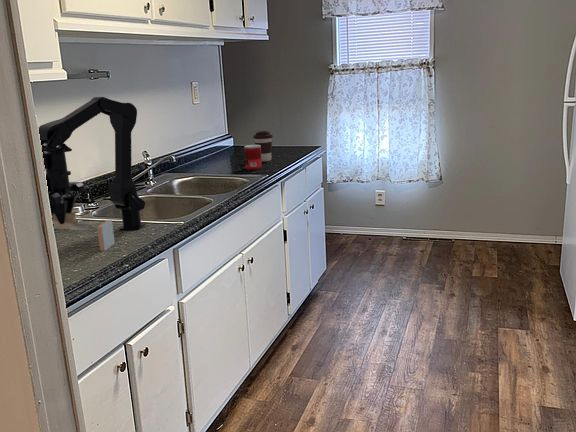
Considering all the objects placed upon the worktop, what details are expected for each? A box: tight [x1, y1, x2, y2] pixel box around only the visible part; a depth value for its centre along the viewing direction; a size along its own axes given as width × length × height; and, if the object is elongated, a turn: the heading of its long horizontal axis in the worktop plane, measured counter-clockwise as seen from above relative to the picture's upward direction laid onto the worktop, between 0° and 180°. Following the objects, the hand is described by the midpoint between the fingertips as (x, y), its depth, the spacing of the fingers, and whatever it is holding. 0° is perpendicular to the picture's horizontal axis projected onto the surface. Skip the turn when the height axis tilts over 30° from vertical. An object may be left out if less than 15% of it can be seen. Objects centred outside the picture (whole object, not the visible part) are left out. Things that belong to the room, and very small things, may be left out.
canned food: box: [243, 144, 263, 171], centre depth 283 cm, size 8×8×11 cm
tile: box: [96, 219, 116, 252], centre depth 169 cm, size 7×2×7 cm, turn 174°
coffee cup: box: [252, 130, 273, 163], centre depth 303 cm, size 10×10×15 cm
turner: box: [51, 212, 96, 231], centre depth 169 cm, size 5×11×4 cm, turn 84°
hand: (64, 222), depth 169 cm, fingers closed on turner, 3 cm apart
